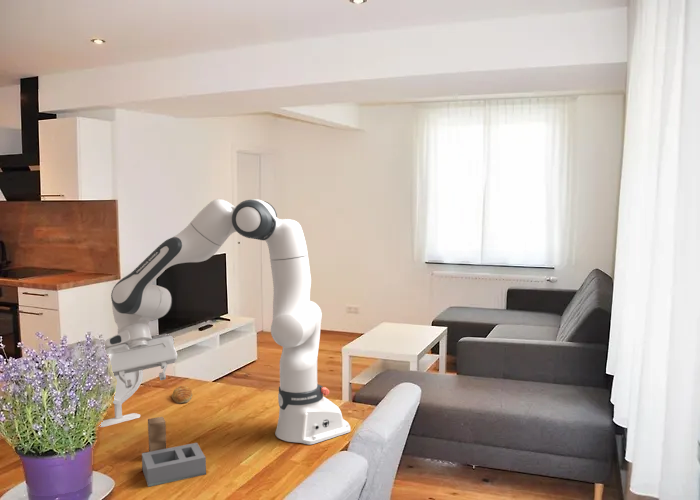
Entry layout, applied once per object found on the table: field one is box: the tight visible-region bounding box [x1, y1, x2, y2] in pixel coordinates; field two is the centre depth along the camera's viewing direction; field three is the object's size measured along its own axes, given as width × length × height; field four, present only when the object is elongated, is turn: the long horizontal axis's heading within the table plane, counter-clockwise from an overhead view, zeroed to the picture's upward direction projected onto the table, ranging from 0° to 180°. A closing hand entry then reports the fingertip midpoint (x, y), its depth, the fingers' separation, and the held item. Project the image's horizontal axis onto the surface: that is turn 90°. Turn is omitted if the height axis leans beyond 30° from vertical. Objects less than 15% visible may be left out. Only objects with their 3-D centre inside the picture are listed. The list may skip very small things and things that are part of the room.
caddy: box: [141, 442, 207, 488], centre depth 154 cm, size 14×10×4 cm
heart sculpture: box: [98, 370, 144, 428], centre depth 188 cm, size 16×5×18 cm, turn 131°
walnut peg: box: [147, 416, 167, 452], centre depth 163 cm, size 4×4×10 cm
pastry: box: [171, 385, 193, 404], centre depth 207 cm, size 9×7×4 cm
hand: (146, 383), depth 169 cm, fingers open, 8 cm apart
